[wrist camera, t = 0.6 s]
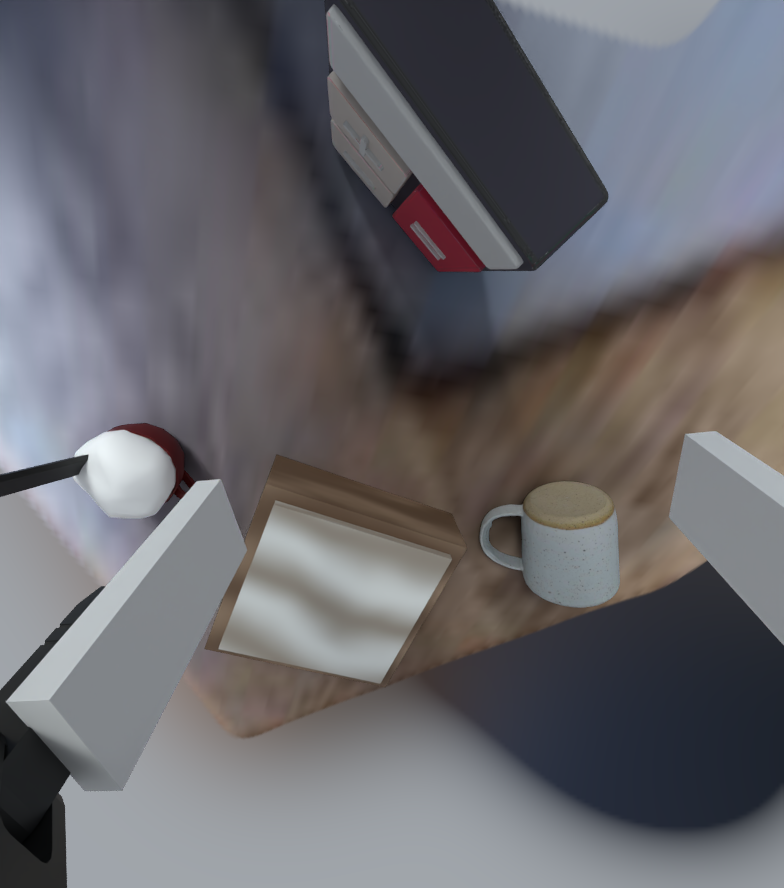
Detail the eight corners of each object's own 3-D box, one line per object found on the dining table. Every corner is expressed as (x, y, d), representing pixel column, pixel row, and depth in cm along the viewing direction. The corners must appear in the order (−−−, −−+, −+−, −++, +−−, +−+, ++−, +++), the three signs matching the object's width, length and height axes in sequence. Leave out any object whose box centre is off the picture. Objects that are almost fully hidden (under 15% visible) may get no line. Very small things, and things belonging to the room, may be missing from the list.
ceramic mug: (587, 467, 37) (642, 514, 30) (588, 542, 40) (639, 600, 33) (470, 493, 37) (498, 547, 30) (481, 566, 40) (508, 629, 33)
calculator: (323, 142, 26) (301, -4, 12) (373, 84, 25) (410, -144, 11) (438, 280, 30) (522, 288, 16) (485, 233, 29) (615, 199, 15)
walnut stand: (276, 454, 33) (264, 488, 28) (451, 513, 37) (469, 553, 32) (220, 603, 38) (202, 655, 33) (380, 642, 42) (386, 693, 37)
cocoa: (220, 470, 34) (174, 569, 23) (157, 509, 34) (83, 625, 23) (131, 373, 30) (25, 437, 19) (61, 418, 30) (-82, 506, 19)
